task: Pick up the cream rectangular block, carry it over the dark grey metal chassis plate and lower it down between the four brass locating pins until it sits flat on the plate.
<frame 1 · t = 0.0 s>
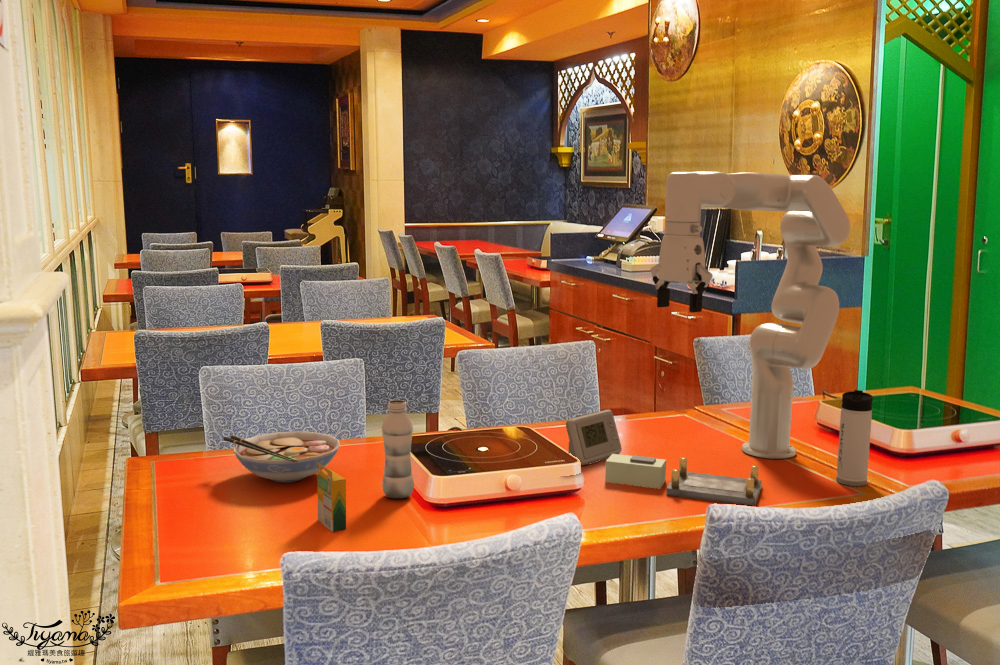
hand: (678, 309, 198), 37 cm above the table, tool pointing down, fingers open, 9 cm apart
plastic bottle: (398, 497, 188), on the table
ramen bowl: (288, 478, 199), on the table
crayon box: (332, 526, 172), on the table
travel mug: (851, 482, 200), on the table
cream rectangular block: (635, 482, 199), on the table
digital clock: (593, 459, 216), on the table
chassis: (714, 491, 193), on the table
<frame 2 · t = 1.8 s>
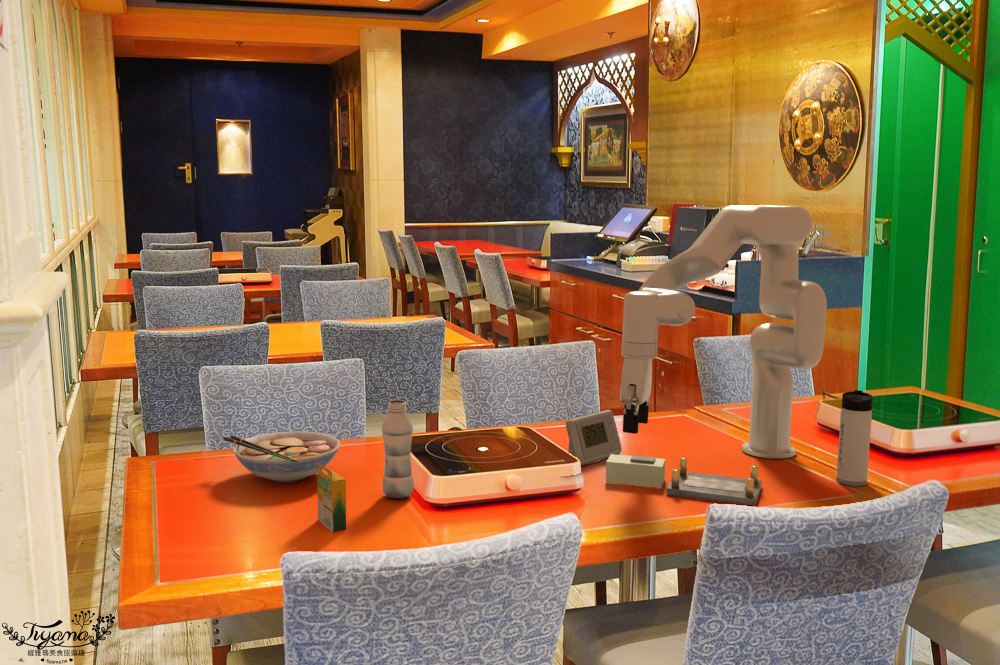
hand: (635, 427, 197), 12 cm above the table, tool pointing down, fingers open, 9 cm apart
nothing on the table moved.
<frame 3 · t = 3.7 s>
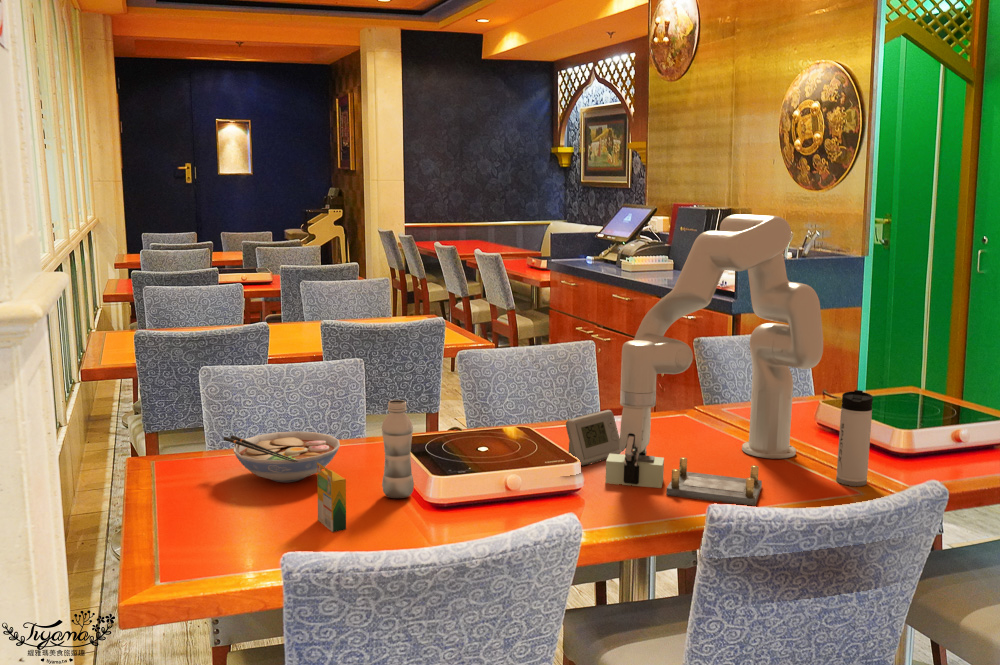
hand: (634, 477, 199), 1 cm above the table, tool pointing down, fingers closed on cream rectangular block, 6 cm apart
cream rectangular block: (634, 481, 199), on the table, touching gripper
everything else where it was.
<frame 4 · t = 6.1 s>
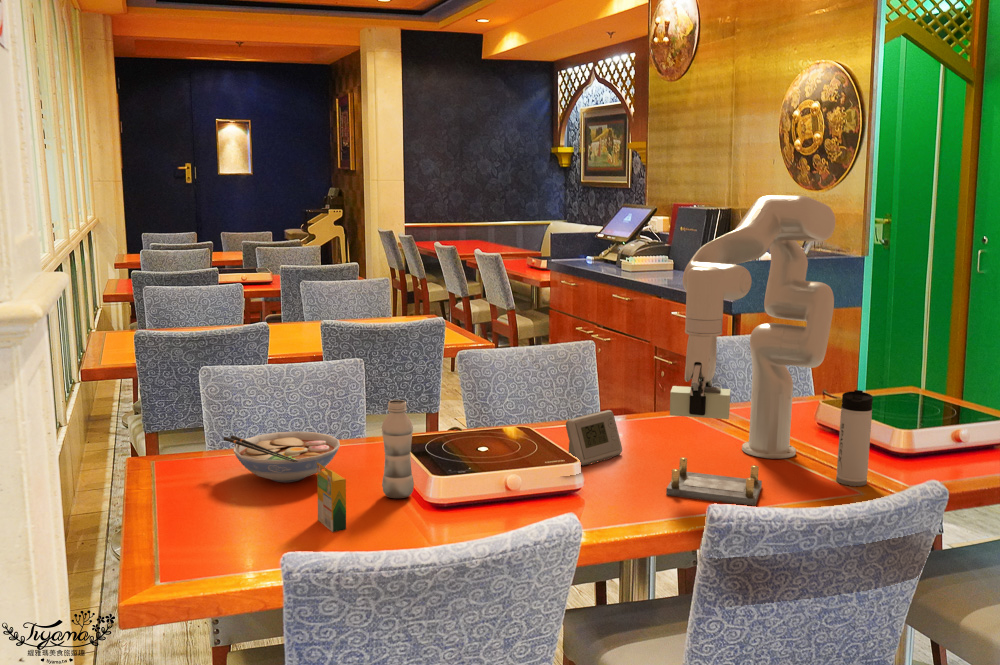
hand: (700, 409, 192), 17 cm above the table, tool pointing down, fingers closed on cream rectangular block, 6 cm apart
cream rectangular block: (699, 413, 192), point 16 cm above the table, touching gripper
everything else where it was.
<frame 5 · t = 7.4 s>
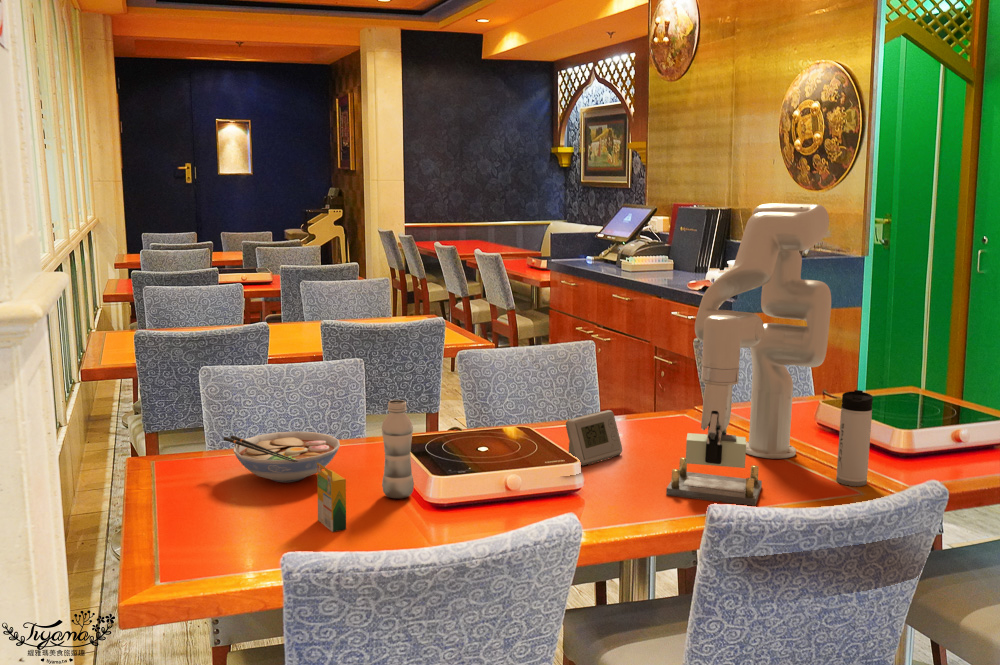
hand: (715, 457, 192), 7 cm above the table, tool pointing down, fingers closed on cream rectangular block, 6 cm apart
cream rectangular block: (715, 461, 192), point 6 cm above the table, touching gripper
everything else where it was.
when the fingers open (4 cm above the table, at t = 8.7 s): cream rectangular block drops 1 cm, resting on chassis.
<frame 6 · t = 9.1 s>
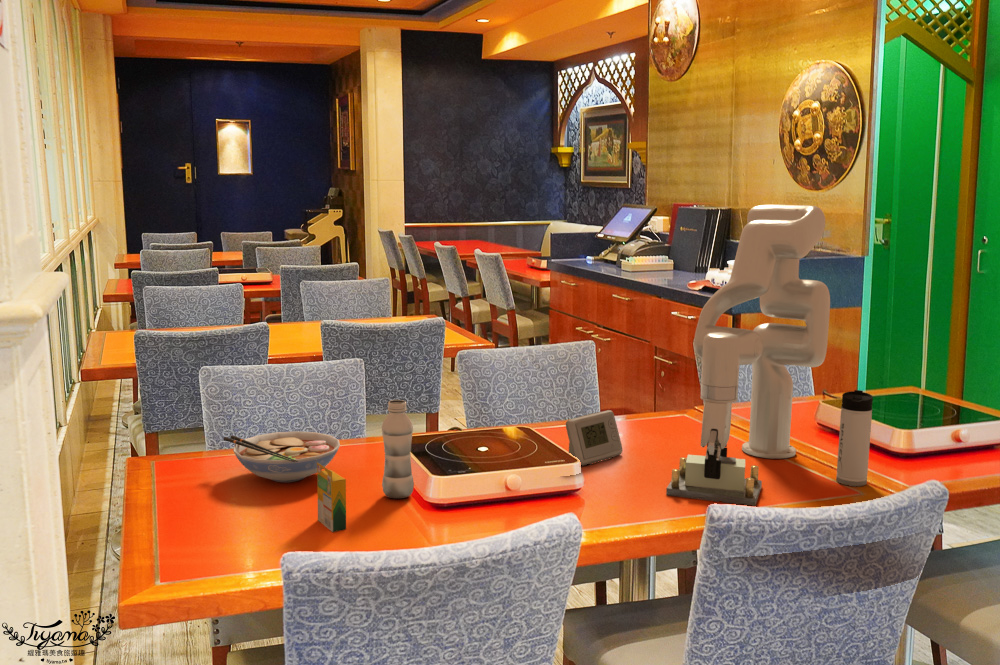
hand: (715, 471, 192), 4 cm above the table, tool pointing down, fingers open, 9 cm apart
cream rectangular block: (714, 483, 193), point 2 cm above the table, touching chassis
everything else where it was.
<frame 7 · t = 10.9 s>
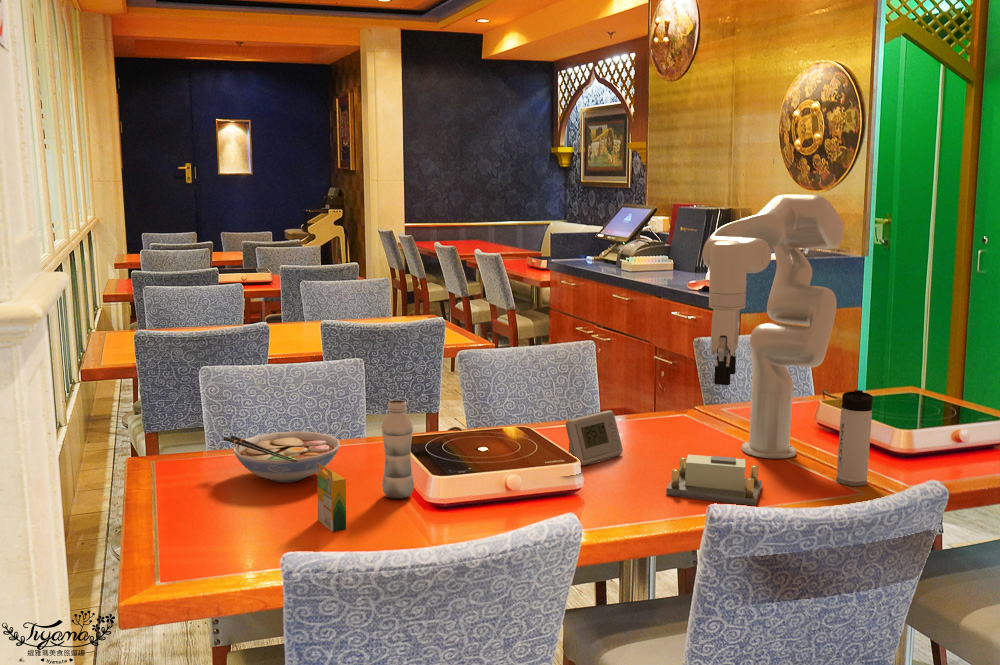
hand: (725, 379, 195), 23 cm above the table, tool pointing down, fingers open, 9 cm apart
nothing on the table moved.
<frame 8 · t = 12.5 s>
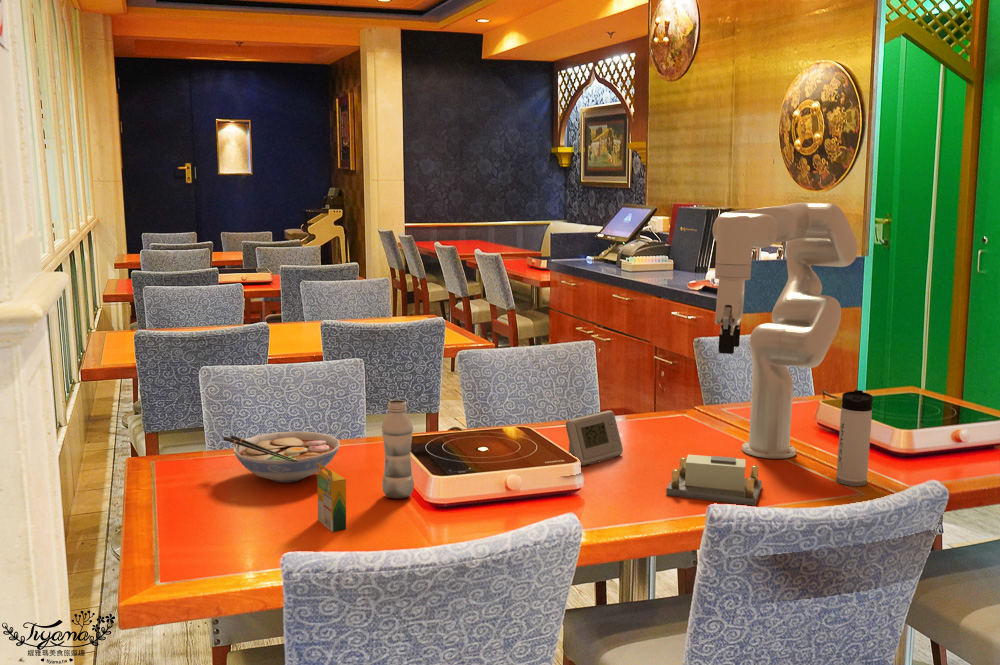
hand: (728, 349, 201), 28 cm above the table, tool pointing down, fingers open, 9 cm apart
nothing on the table moved.
at the end: cream rectangular block 0.1 cm off-centre on the chassis, point 1.6 cm above the chassis's base; cream rectangular block tilted 0°; the gripper is holding nothing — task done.
